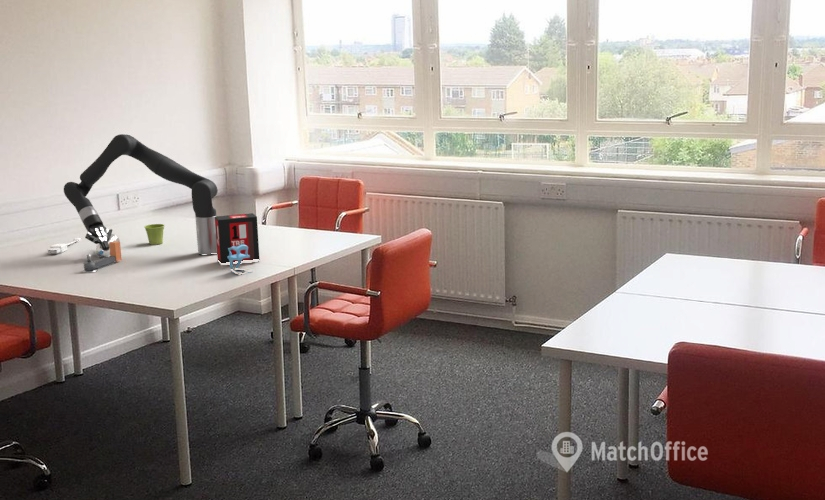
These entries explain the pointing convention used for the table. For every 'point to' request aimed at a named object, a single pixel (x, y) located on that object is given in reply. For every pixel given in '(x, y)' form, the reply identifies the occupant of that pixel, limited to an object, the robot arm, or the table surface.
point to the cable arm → (114, 256)
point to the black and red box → (236, 235)
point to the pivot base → (89, 262)
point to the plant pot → (155, 233)
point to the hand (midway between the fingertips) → (107, 249)
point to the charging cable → (61, 247)
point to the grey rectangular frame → (101, 267)
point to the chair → (237, 255)
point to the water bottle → (103, 253)
